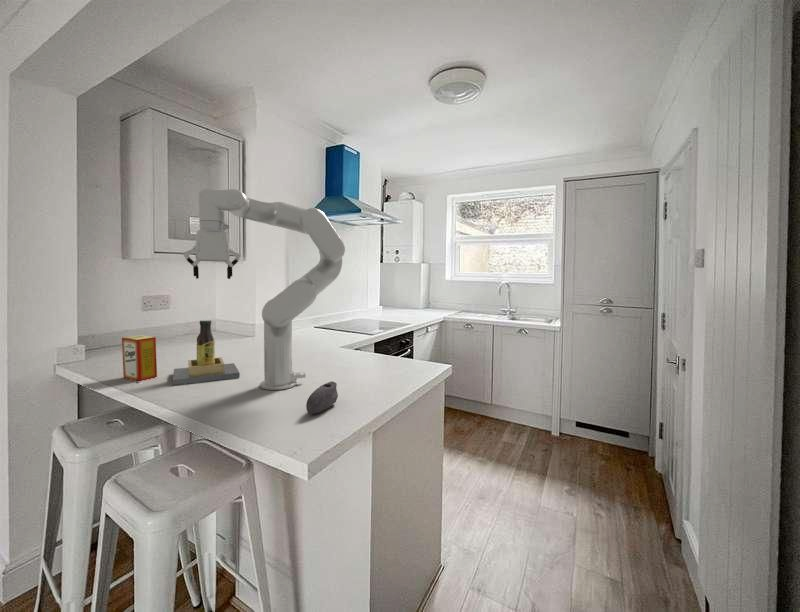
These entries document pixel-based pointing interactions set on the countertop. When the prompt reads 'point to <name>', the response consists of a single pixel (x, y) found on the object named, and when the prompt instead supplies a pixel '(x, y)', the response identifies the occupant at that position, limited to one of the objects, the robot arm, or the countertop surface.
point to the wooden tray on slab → (205, 372)
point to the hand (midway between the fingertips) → (213, 278)
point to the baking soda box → (139, 357)
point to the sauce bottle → (205, 344)
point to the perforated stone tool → (322, 398)
